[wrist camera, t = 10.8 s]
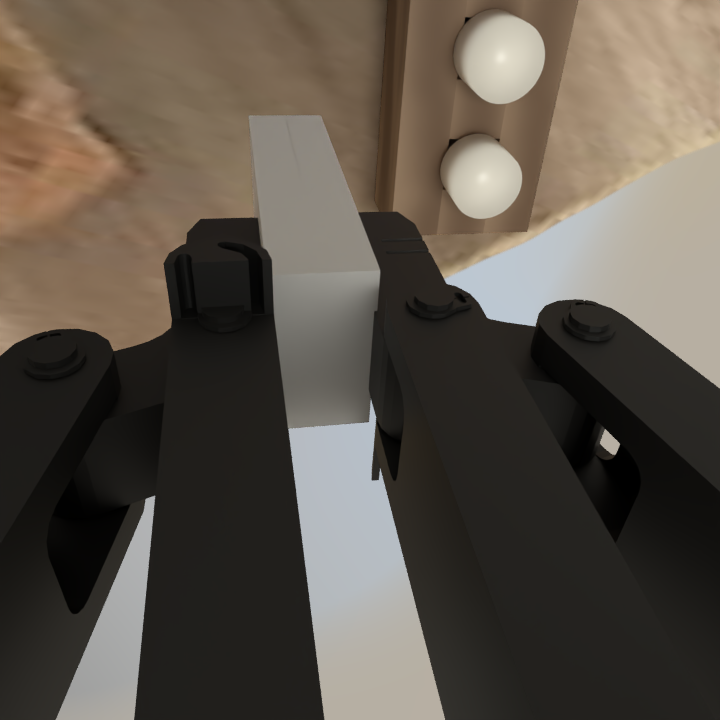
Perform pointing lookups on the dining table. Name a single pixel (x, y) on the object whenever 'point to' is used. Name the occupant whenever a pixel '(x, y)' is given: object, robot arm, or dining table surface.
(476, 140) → the knob
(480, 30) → the knob
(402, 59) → the mount
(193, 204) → the dining table surface
